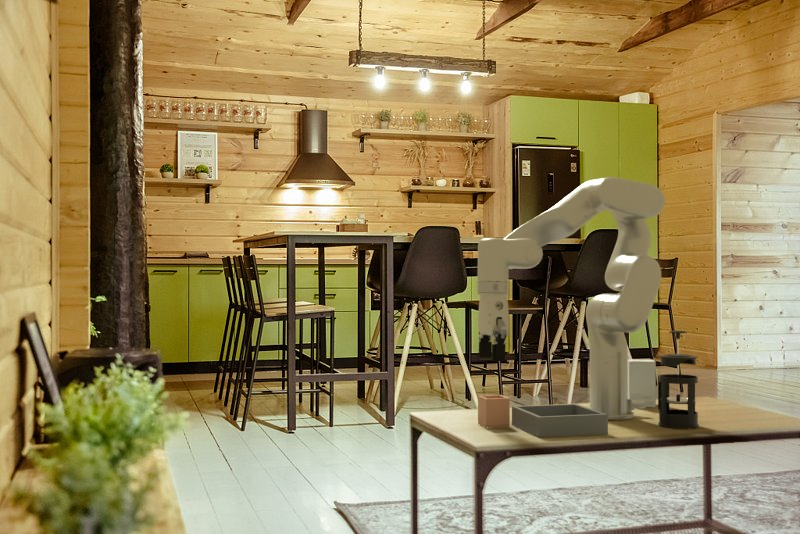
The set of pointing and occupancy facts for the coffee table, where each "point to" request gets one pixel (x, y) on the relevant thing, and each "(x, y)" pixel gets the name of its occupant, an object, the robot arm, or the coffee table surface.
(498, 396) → the small crate
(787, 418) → the coffee table surface
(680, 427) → the french press
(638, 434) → the coffee table surface
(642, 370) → the supplement box
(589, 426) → the grey square tray
